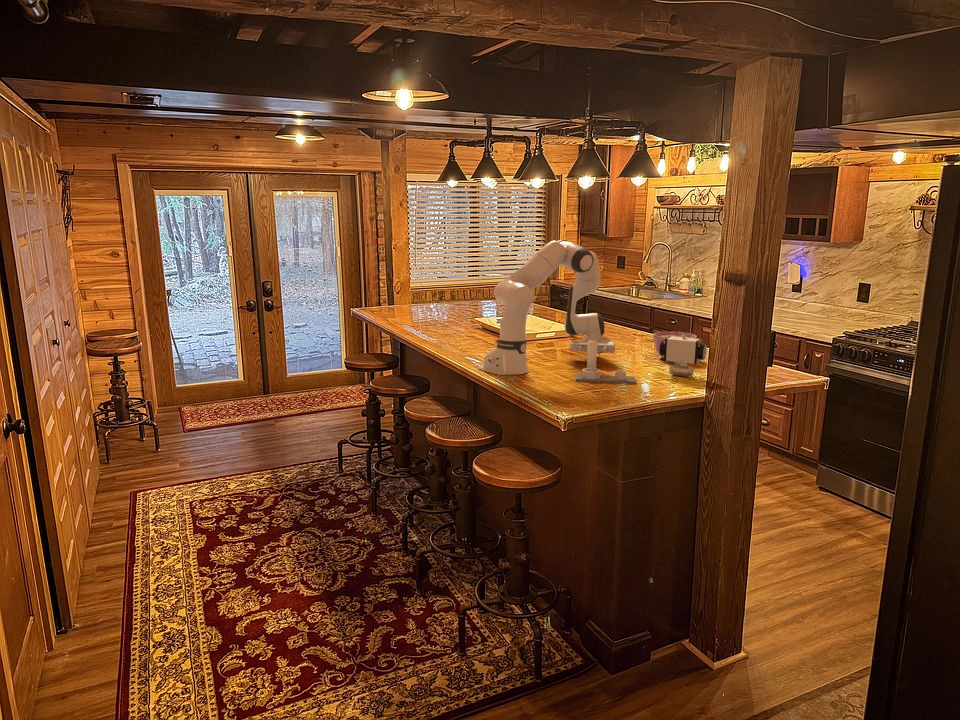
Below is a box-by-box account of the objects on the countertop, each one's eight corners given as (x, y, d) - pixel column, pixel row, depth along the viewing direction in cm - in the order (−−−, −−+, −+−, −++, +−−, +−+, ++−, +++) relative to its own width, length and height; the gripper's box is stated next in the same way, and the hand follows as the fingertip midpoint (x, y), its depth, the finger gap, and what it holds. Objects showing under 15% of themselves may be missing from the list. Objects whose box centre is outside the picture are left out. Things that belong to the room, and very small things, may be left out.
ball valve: (705, 376, 281) (708, 335, 277) (700, 380, 274) (704, 338, 270) (663, 371, 290) (665, 331, 286) (657, 375, 283) (660, 334, 279)
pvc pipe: (584, 373, 286) (586, 341, 283) (589, 371, 289) (590, 339, 286) (593, 374, 283) (594, 342, 280) (597, 372, 286) (599, 340, 283)
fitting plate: (575, 381, 271) (576, 371, 270) (576, 376, 280) (577, 367, 279) (635, 384, 267) (636, 374, 266) (634, 378, 276) (635, 369, 275)
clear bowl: (643, 358, 316) (644, 334, 313) (664, 352, 329) (666, 330, 327) (682, 365, 302) (683, 340, 299) (702, 358, 316) (704, 335, 313)
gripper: (570, 337, 309) (569, 342, 296) (615, 338, 306) (615, 344, 292) (570, 350, 311) (568, 356, 297) (614, 352, 307) (614, 358, 294)
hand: (592, 350), depth 295 cm, fingers open, 8 cm apart
